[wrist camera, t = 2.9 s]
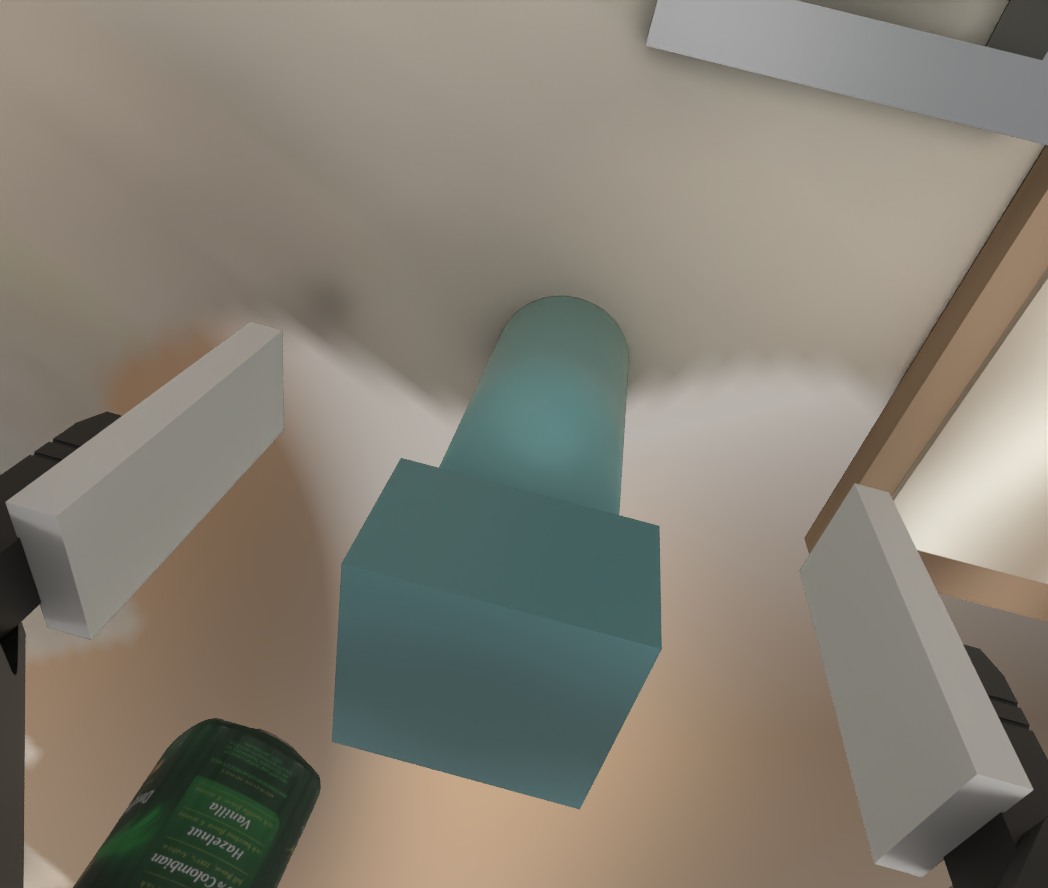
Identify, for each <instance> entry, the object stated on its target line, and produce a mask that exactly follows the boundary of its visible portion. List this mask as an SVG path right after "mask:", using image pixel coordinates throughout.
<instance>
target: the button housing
mask: <svg viewBox="0 0 1048 888" xmlns="http://www.w3.org/2000/svg"><path fill="white" fill-rule="evenodd" d="M646 46H649V47H653V48H657V49H661V50H665V51H669V52H673V53H677V54H681V55H685V56H689V57H693V58H697V59H701V60H705V61H709V62H713V63H718V64H722V65H726V66H730V67H734V68H738V69H742V70H746V71H750V72H754V73H758V74H762V75H766V76H770V77H774V78H778V79H782V80H786V81H790V82H794V83H798V84H802V85H806V86H810V87H814V88H818V89H822V90H827V91H831V92H835V93H839V94H843V95H847V96H851V97H855V98H859V99H863V100H867V101H871V102H875V103H879V104H883V105H887V106H891V107H895V108H899V109H903V110H907V111H911V112H915V113H919V114H923V115H927V116H932V117H936V118H940V119H944V120H948V121H952V122H956V123H960V124H964V125H968V126H972V127H976V128H980V129H984V130H988V131H992V132H996V133H1000V134H1004V135H1008V136H1012V137H1016V138H1020V139H1024V140H1028V141H1032V142H1037V143H1041V144H1045V145H1048V0H1010V2H1009V4H1008V5H1007V7H1006V9H1005V11H1004V13H1003V15H1002V17H1001V19H1000V21H999V23H998V25H997V26H996V28H995V30H994V32H993V34H992V36H991V38H990V40H989V42H988V44H987V46H982V45H978V44H973V43H969V42H965V41H961V40H957V39H953V38H949V37H945V36H941V35H937V34H933V33H929V32H924V31H920V30H916V29H912V28H908V27H904V26H900V25H896V24H892V23H888V22H884V21H880V20H875V19H871V18H867V17H863V16H859V15H855V14H851V13H847V12H843V11H839V10H835V9H831V8H826V7H822V6H818V5H814V4H810V3H806V2H802V1H798V0H657V3H656V6H655V10H654V14H653V18H652V22H651V25H650V29H649V33H648V37H647V41H646Z"/></svg>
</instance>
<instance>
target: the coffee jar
mask: <svg viewBox="0 0 1048 888" xmlns="http://www.w3.org/2000/svg"><path fill="white" fill-rule="evenodd" d="M319 793H320V778H319V775H318V774H317V772H315V770H314V769H313V768H312V767H311V766H310V765H309V764H308V763H307V762H306V761H305V760H304V759H303V758H302V757H301V756H300V755H299V754H298V753H297V752H296V751H295V749H294V748H293V747H292V746H290V745H289V744H288V743H286V742H285V741H283V740H281V739H280V738H278V737H277V736H275V735H273V734H271V733H269V732H266V731H264V730H261V729H254V728H249V727H246V726H242V725H239V724H235V723H232V722H228V721H224V720H222V719H218V718H214V719H208V720H205V721H203V722H200V723H198V724H197V725H195V726H193V727H191V728H190V729H189V730H187V731H186V732H184V733H183V734H182V735H180V736H179V737H178V738H177V739H176V740H175V741H174V742H173V743H172V744H171V745H170V746H169V747H168V748H167V750H166V751H165V753H164V754H163V755H162V757H161V758H160V760H159V761H158V763H157V764H156V766H155V767H154V769H153V770H152V772H151V773H150V774H149V776H148V778H147V779H146V781H145V782H144V783H143V785H142V786H141V788H140V790H139V791H138V793H137V794H136V795H135V797H134V798H133V800H132V801H131V803H130V804H129V806H128V808H127V809H126V811H125V812H124V813H123V815H122V816H121V818H120V819H119V821H118V822H117V824H116V825H115V827H114V828H113V830H112V831H111V833H110V835H109V836H108V837H107V839H106V840H105V842H104V843H103V845H102V846H101V847H100V849H99V850H98V852H97V853H96V855H95V856H94V858H93V859H92V861H91V862H90V863H89V865H88V866H87V868H86V869H85V871H84V872H83V874H82V875H81V877H80V878H79V879H78V881H77V882H76V884H75V885H74V887H73V888H277V886H278V884H279V882H280V880H281V878H282V875H283V873H284V871H285V869H286V867H287V864H288V862H289V860H290V858H291V856H292V854H293V852H294V850H295V848H296V845H297V843H298V841H299V839H300V837H301V834H302V832H303V830H304V828H305V825H306V823H307V821H308V819H309V817H310V814H311V812H312V810H313V808H314V805H315V803H316V801H317V798H318V796H319Z"/></svg>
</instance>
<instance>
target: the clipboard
mask: <svg viewBox="0 0 1048 888" xmlns="http://www.w3.org/2000/svg"><path fill="white" fill-rule="evenodd" d="M854 483H856V484H859V485H863V486H867V487H871V488H874V489H878V490H882V491H886V492H889V493H890V495H891V497H892V500H893V502H894V504H895V506H896V508H897V510H898V512H899V514H900V516H901V518H902V520H903V522H904V524H905V526H906V528H907V530H908V532H909V535H910V537H911V539H912V541H913V543H914V545H915V547H916V549H917V551H918V553H919V555H920V557H921V559H922V561H923V563H924V565H925V567H926V569H927V572H928V574H929V576H930V578H931V580H932V582H933V584H934V586H935V588H936V590H937V592H938V593H940V594H944V595H948V596H951V597H955V598H959V599H963V600H966V601H971V602H974V603H978V604H982V605H985V606H989V607H993V608H997V609H1001V610H1004V611H1008V612H1012V613H1016V614H1020V615H1023V616H1028V617H1031V618H1035V619H1039V620H1043V621H1046V622H1048V145H1046V146H1045V148H1044V150H1043V151H1042V153H1041V155H1040V156H1039V158H1038V159H1037V161H1036V163H1035V164H1034V166H1033V168H1032V169H1031V171H1030V172H1029V174H1028V176H1027V177H1026V179H1025V181H1024V182H1023V184H1022V185H1021V187H1020V189H1019V190H1018V192H1017V194H1016V195H1015V197H1014V198H1013V200H1012V202H1011V203H1010V205H1009V207H1008V208H1007V210H1006V211H1005V213H1004V215H1003V216H1002V218H1001V220H1000V221H999V223H998V224H997V226H996V228H995V229H994V231H993V233H992V234H991V236H990V237H989V239H988V241H987V242H986V244H985V246H984V247H983V249H982V250H981V252H980V254H979V255H978V257H977V259H976V260H975V262H974V263H973V265H972V267H971V268H970V270H969V272H968V273H967V275H966V276H965V278H964V280H963V281H962V283H961V285H960V286H959V288H958V289H957V291H956V293H955V294H954V296H953V298H952V299H951V301H950V302H949V304H948V306H947V307H946V309H945V311H944V312H943V314H942V315H941V317H940V319H939V320H938V322H937V324H936V325H935V327H934V328H933V330H932V332H931V333H930V335H929V337H928V338H927V340H926V341H925V343H924V345H923V346H922V348H921V350H920V351H919V353H918V354H917V356H916V358H915V359H914V361H913V363H912V364H911V366H910V367H909V369H908V371H907V372H906V374H905V376H904V377H903V379H902V380H901V382H900V384H899V385H898V387H897V389H896V390H895V392H894V393H893V395H892V397H891V398H890V400H889V402H888V403H887V405H886V406H885V408H884V410H883V411H882V413H881V415H880V416H879V418H878V419H877V421H876V423H875V424H874V426H873V428H872V429H871V431H870V432H869V434H868V436H867V437H866V439H865V441H864V442H863V444H862V445H861V447H860V449H859V450H858V452H857V454H856V455H855V457H854V458H853V460H852V462H851V463H850V465H849V467H848V468H847V470H846V471H845V473H844V475H843V476H842V478H841V480H840V481H839V483H838V484H837V486H836V488H835V489H834V491H833V493H832V494H831V496H830V498H829V499H828V501H827V502H826V504H825V506H824V507H823V509H822V511H821V512H820V514H819V515H818V517H817V519H816V521H815V522H814V523H813V525H812V527H811V528H810V530H809V532H808V533H807V535H806V536H805V542H806V545H807V548H808V552H809V554H810V553H811V551H812V550H813V548H814V547H815V545H816V543H817V542H818V540H819V539H820V537H821V536H822V534H823V532H824V531H825V529H826V528H827V526H828V524H829V523H830V521H831V520H832V518H833V517H834V515H835V513H836V512H837V510H838V509H839V507H840V505H841V504H842V502H843V501H844V499H845V498H846V496H847V494H848V493H849V491H850V490H851V488H852V487H853V485H854Z"/></svg>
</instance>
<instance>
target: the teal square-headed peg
mask: <svg viewBox="0 0 1048 888" xmlns="http://www.w3.org/2000/svg"><path fill="white" fill-rule="evenodd" d="M628 363H629V356H628V348H627V343H626V340H625V337H624V335H623V333H622V331H621V329H620V328H619V326H618V325H617V323H616V322H615V321H614V320H613V319H612V318H611V317H610V315H608V314H607V313H606V312H605V311H604V310H602V309H601V308H599V307H597V306H596V305H594V304H592V303H590V302H588V301H585V300H582V299H579V298H574V297H566V296H555V297H547V298H542V299H540V300H537V301H534V302H532V303H530V304H528V305H526V306H524V307H523V308H522V309H520V310H519V311H518V312H517V313H515V314H514V315H513V317H512V318H511V319H510V320H509V321H508V323H507V324H506V326H505V328H504V330H503V332H502V334H501V336H500V338H499V340H498V343H497V345H496V347H495V349H494V351H493V353H492V355H491V358H490V360H489V362H488V364H487V366H486V368H485V370H484V373H483V375H482V377H481V379H480V381H479V383H478V385H477V388H476V390H475V392H474V394H473V396H472V398H471V400H470V403H469V405H468V407H467V409H466V411H465V413H464V415H463V418H462V420H461V422H460V424H459V426H458V428H457V431H456V433H455V435H454V437H453V439H452V441H451V443H450V446H449V448H448V450H447V452H446V454H445V457H444V458H443V461H442V463H441V465H440V467H439V468H437V467H433V466H429V465H425V464H422V463H418V462H414V461H411V460H407V459H402V458H401V459H400V461H399V463H398V465H397V466H396V468H395V470H394V472H393V473H392V475H391V477H390V479H389V480H388V482H387V484H386V486H385V488H384V490H383V491H382V493H381V495H380V497H379V498H378V500H377V502H376V504H375V505H374V507H373V509H372V511H371V513H370V514H369V516H368V518H367V520H366V521H365V523H364V525H363V527H362V528H361V530H360V532H359V534H358V536H357V537H356V539H355V541H354V543H353V544H352V546H351V548H350V550H349V552H348V553H347V555H346V557H345V559H344V561H343V562H342V567H341V586H340V603H339V621H338V640H337V658H336V676H335V695H334V712H333V731H332V742H335V743H339V744H342V745H346V746H350V747H354V748H357V749H361V750H364V751H368V752H372V753H375V754H379V755H383V756H386V757H390V758H394V759H397V760H401V761H405V762H408V763H412V764H416V765H419V766H423V767H427V768H430V769H434V770H438V771H442V772H445V773H449V774H452V775H456V776H460V777H463V778H467V779H471V780H474V781H478V782H482V783H485V784H489V785H493V786H496V787H500V788H504V789H507V790H511V791H515V792H518V793H522V794H525V795H529V796H533V797H537V798H540V799H544V800H547V801H551V802H555V803H558V804H562V805H566V806H570V807H573V808H577V809H580V808H581V806H582V804H583V802H584V800H585V798H586V796H587V794H588V792H589V790H590V788H591V786H592V784H593V782H594V780H595V778H596V776H597V774H598V773H599V771H600V768H601V767H602V765H603V763H604V761H605V759H606V757H607V755H608V753H609V751H610V749H611V747H612V745H613V743H614V741H615V739H616V737H617V735H618V733H619V731H620V730H621V728H622V726H623V724H624V722H625V720H626V718H627V715H628V714H629V712H630V710H631V708H632V706H633V704H634V702H635V700H636V698H637V696H638V694H639V692H640V690H641V688H642V686H643V685H644V683H645V681H646V679H647V677H648V675H649V673H650V671H651V669H652V667H653V665H654V663H655V661H656V659H657V657H658V655H659V653H660V651H661V649H662V647H661V596H660V595H661V593H660V543H659V542H660V538H659V526H657V525H654V524H650V523H646V522H642V521H638V520H635V519H631V518H627V517H623V516H619V510H620V493H621V477H622V461H623V444H624V428H625V412H626V396H627V380H628Z"/></svg>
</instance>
